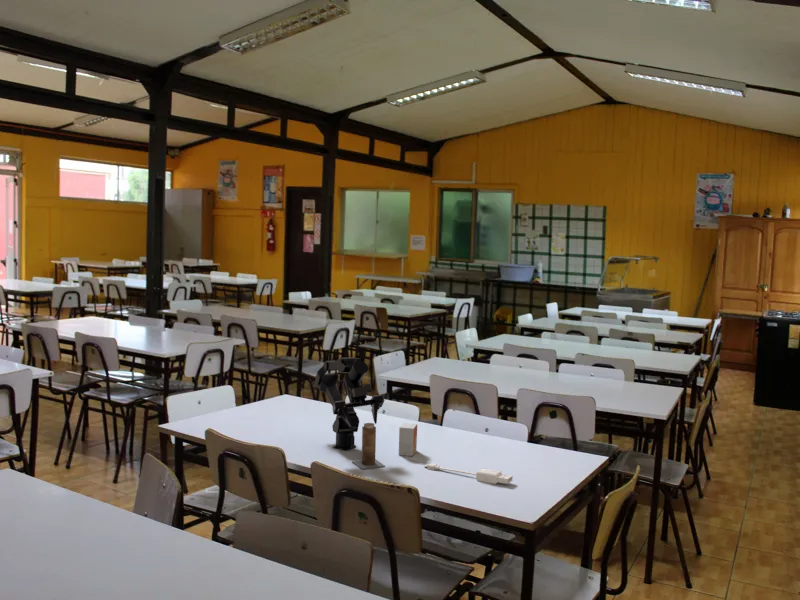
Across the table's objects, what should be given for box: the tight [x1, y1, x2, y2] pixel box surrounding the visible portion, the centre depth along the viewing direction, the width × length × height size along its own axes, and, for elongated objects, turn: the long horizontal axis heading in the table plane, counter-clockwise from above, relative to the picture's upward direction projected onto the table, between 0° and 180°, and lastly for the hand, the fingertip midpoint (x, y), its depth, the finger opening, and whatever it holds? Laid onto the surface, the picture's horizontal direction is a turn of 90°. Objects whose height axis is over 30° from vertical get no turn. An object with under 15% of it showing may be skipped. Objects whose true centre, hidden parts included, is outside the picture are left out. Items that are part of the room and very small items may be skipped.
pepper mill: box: [361, 422, 377, 465], centre depth 258 cm, size 5×5×14 cm
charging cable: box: [423, 463, 514, 485], centre depth 250 cm, size 5×32×3 cm, turn 59°
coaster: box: [351, 458, 386, 470], centre depth 258 cm, size 9×9×1 cm
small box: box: [398, 422, 418, 457], centre depth 275 cm, size 8×6×10 cm
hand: (363, 425), depth 263 cm, fingers open, 9 cm apart
